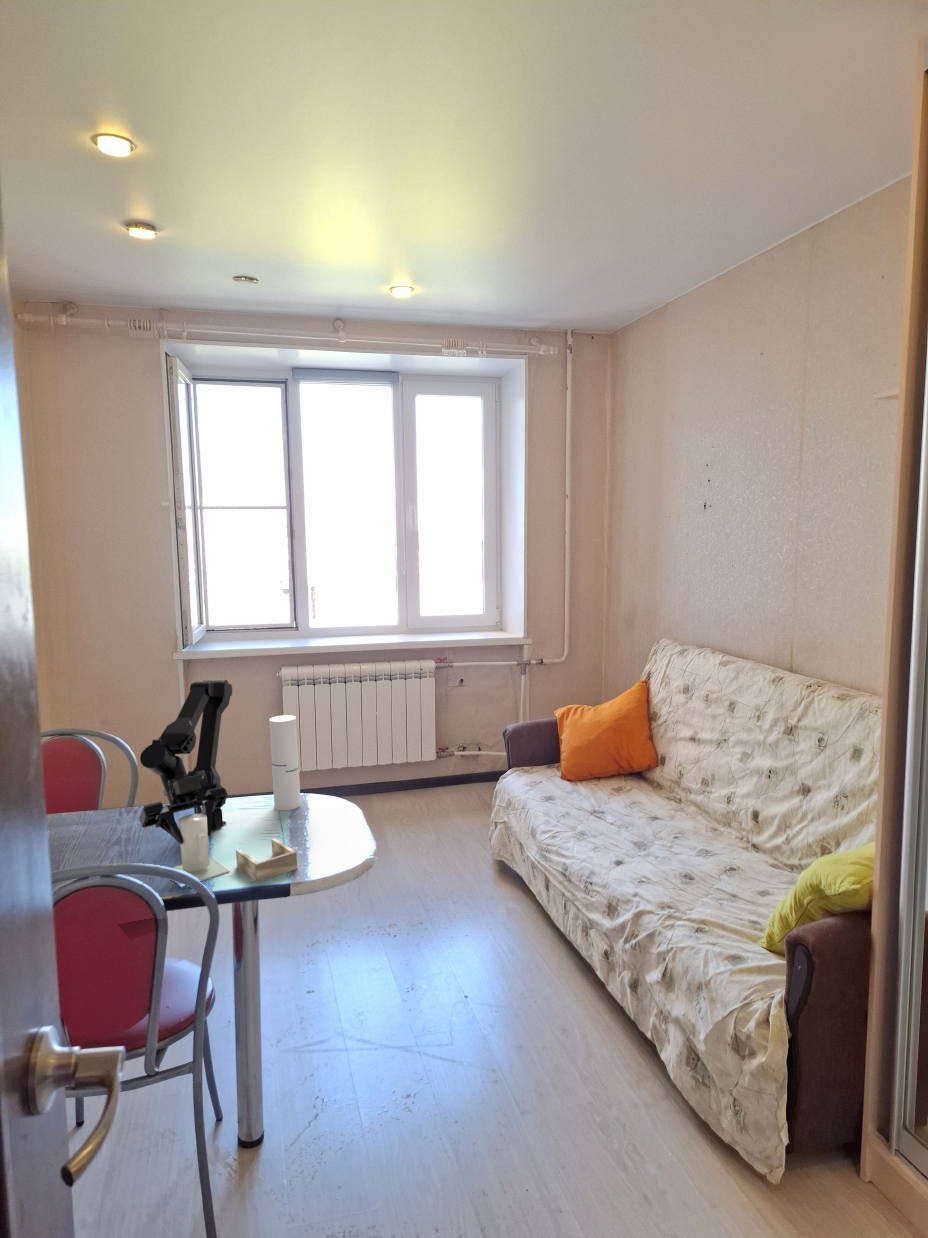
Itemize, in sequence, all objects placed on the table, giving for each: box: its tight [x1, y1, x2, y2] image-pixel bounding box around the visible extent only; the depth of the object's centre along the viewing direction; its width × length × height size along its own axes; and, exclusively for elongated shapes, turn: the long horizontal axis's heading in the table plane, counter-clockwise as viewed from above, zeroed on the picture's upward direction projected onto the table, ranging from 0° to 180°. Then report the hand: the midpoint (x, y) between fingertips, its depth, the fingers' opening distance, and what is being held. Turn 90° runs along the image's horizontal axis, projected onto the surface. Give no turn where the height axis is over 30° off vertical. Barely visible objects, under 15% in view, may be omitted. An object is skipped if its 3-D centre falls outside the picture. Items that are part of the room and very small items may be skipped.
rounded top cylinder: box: [178, 813, 211, 871], centre depth 171 cm, size 8×6×11 cm
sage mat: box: [173, 855, 231, 882], centre depth 173 cm, size 11×11×1 cm
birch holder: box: [235, 838, 298, 883], centre depth 174 cm, size 11×10×4 cm
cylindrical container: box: [268, 714, 302, 811], centre depth 212 cm, size 7×7×25 cm
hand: (196, 839), depth 171 cm, fingers closed on rounded top cylinder, 6 cm apart
